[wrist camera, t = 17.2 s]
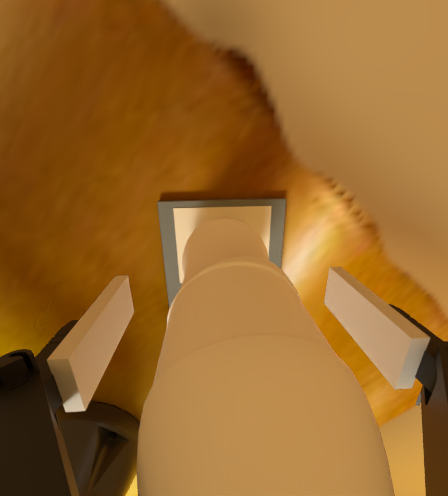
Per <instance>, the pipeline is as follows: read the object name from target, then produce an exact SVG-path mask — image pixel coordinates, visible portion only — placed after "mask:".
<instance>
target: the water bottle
mask: <svg viewBox="0 0 448 496" xmlns="http://www.w3.org/2000/svg"><path fill="white" fill-rule="evenodd" d="M182 270H183V274H184V280H183V283H182V286H181V288H180V290H179V292H178V293H177V295H176V296H175V298H174V300H173V302H172V304H171V306H170V309H169V312H168V316H167V328H166V332H165V337H164V341H163V345H162V349H161V353H160V357H159V362H158V366H157V370H156V374H155V378H154V382H153V386H152V388H151V390H150V392H149V394H148V396H147V398H146V400H145V402H144V406H143V411H142V416H141V421H140V427H139V432H138V450H137V486H138V496H395V495H394V490H393V485H392V480H391V474H390V470H389V464H388V459H387V455H386V451H385V448H384V444H383V441H382V437H381V433H380V431H379V427H378V425H377V422H376V420H375V417H374V415H373V412H372V410H371V407H370V405H369V402H368V400H367V398H366V395H365V393H364V391H363V390H362V388H361V386H360V384H359V383H358V381H357V379H356V378H355V376H354V374H353V372H352V371H351V369H350V368H349V367H348V366H347V365H346V363H345V362H344V361H343V360H342V359H341V358H340V357H339V356H338V355H336V354H335V352H334V351H333V349H332V348H331V346H330V345H329V343H328V342H327V340H326V338H325V337H324V335H323V334H322V332H321V331H320V329H319V328H318V326H317V325H316V323H315V322H314V320H313V319H312V317H311V316H310V314H309V313H308V311H307V310H306V308H305V307H304V305H303V304H302V302H301V299H300V296H299V294H298V292H297V290H296V288H295V287H294V285H293V284H292V283H291V281H290V280H289V278H288V277H287V276H286V274H285V273H284V272H283V271H282V270H281V269H280V268H279V267H278V266H276V265H275V264H274V263H272V262H271V261H269V258H268V252H267V249H266V246H265V244H264V242H263V240H262V239H261V237H260V236H259V234H258V233H257V232H256V231H255V230H254V229H253V228H252V227H251V226H250V225H249V224H247V223H246V222H244V221H241V220H237V219H233V218H228V217H216V218H212V219H209V220H207V221H205V222H204V223H202V224H200V225H199V226H198V227H197V228H196V229H195V230H194V231H193V232H192V234H191V235H190V237H189V238H188V240H187V242H186V245H185V248H184V251H183V256H182Z"/></svg>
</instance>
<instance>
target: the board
mask: <svg viewBox="0 0 448 496" xmlns="http://www.w3.org/2000/svg"><path fill="white" fill-rule="evenodd" d="M157 203H158V212H159V221H160V230H161V239H162V248H163V257H164V266H165V275H166V283H167V292H168V301H169V309H170V306H171V304H172V302H173V300H174V298H175V296H176V295H177V293H178V292H179V290H180V288H181V286H182V283H183V280H184V274H183V270H182V256H183V251H184V248H185V245H186V242H187V240H188V238H189V237H190V235H191V234H192V232H193V231H194V230H195V229H196V228H197V227H198V226H199V225H200V224H202V223H204V222H205V221H207V220H209V219H212V218H216V217H228V218H233V219H237V220H241V221H244V222H246V223H247V224H249V225H250V226H251V227H252V228H253V229H254V230H255V231H256V232H257V233H258V234H259V236H260V237H261V239H262V240H263V242H264V244H265V246H266V249H267V252H268V258H269V261H271V262H272V263H274V264H275V265H276V266H278V267H279V268H280V269H281V259H282V247H283V234H284V222H285V209H286V199H285V198H257V199H213V200H168V201H158V202H157Z"/></svg>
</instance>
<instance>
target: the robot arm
mask: <svg viewBox="0 0 448 496" xmlns="http://www.w3.org/2000/svg"><path fill="white" fill-rule="evenodd" d="M324 304H325V305H326V306H327V307H328V308H329V310H330V311H331V312H332V313H333V314H334V316H335V317H336V318H337V319H338V321H339V322H340V323H341V324H342V325H343V327H344V328H345V329H346V330H347V332H348V333H349V334H350V335H351V336H352V338H353V339H354V340H355V341H356V343H357V344H358V345H359V346H360V347H361V349H362V350H363V351H364V352H365V353H366V355H367V356H368V357H369V358H370V360H371V361H372V362H373V363H374V364H375V366H376V367H377V368H378V369H379V371H380V372H381V373H382V374H383V375H384V377H385V378H386V379H387V380H388V382H389V383H390V384H391V385H392V386H393V388H394V389H408V388H412V386H413V383H414V381H415V378H417V379H418V380H419V381H420V382H421V383H422V384H423V386H422V389H421V391H420V394H419V397H418V399H417V402H416V405H418V406H419V404H420V402H421V409H422V428H423V448H424V467H425V487H426V496H448V342H446V341H442V340H441V339H440V338H438V337H437V336H436V335H434V334H433V333H432V332H430V331H429V330H428V329H427V328H425V327H424V326H423V325H421V324H420V323H418V322H417V321H416V320H415V319H413V318H411V317H410V316H409V315H408V314H407V313H406V312H404V311H403V310H401V309H399V308H397V307H395V306H393V305H391V304H387V303H386V302H385V301H383V300H382V299H381V298H380V297H378V296H377V295H376V294H374V293H373V292H372V291H371V290H369V289H368V288H367V287H366V286H364V285H363V284H362V283H361V282H359V281H358V280H357V279H356V278H354V277H353V276H352V275H350V274H349V273H348V272H347V271H345V270H344V269H343V268H342V267H330V269H329V275H328V281H327V288H326V294H325V300H324ZM133 314H134V307H133V302H132V296H131V290H130V285H129V279H128V275H125V276H115V277H114V278H113V280H112V281H111V282H110V283H109V284H108V286H107V287H106V288H105V289H104V291H103V292H102V293H101V294H100V295H99V297H98V298H97V299H96V300H95V302H94V303H93V304H92V305H91V306H90V308H89V309H88V310H87V311H86V313H85V314H84V315H83V316H82V317H81V319H80V320H73V321H71V322H69V323H68V324H66V325H65V326H63V327H62V328H61V329H60V330H59V331H58V332H57V333H56V335H55V337H53V338H52V339H51V340H50V341H49V344H47V345H46V346H45V347H44V348H43V349H42V350H41V351H40V353H39V354H38V355H37V356H36V357H34V354H33V353H32V351H31V350H27V349H22V350H16V351H13V352H10V353H7V354H5V355H3V356H1V357H0V496H125V495H126V493H127V491H128V489H129V487H130V485H131V483H132V481H133V479H134V477H135V475H136V473H137V450H138V432H139V427H140V423H139V422H138V421H137V420H136V419H135V418H134V417H132V416H131V415H130V414H128V413H127V412H125V411H123V410H121V409H119V408H116V407H113V406H110V405H107V404H102V403H96V402H90V400H91V398H92V396H93V394H94V392H95V390H96V388H97V386H98V384H99V382H100V380H101V378H102V376H103V374H104V372H105V370H106V368H107V366H108V364H109V362H110V360H111V358H112V356H113V354H114V352H115V350H116V348H117V346H118V344H119V342H120V340H121V338H122V336H123V334H124V332H125V330H126V328H127V326H128V324H129V322H130V320H131V318H132V316H133ZM61 403H63V405H61Z"/></svg>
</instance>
